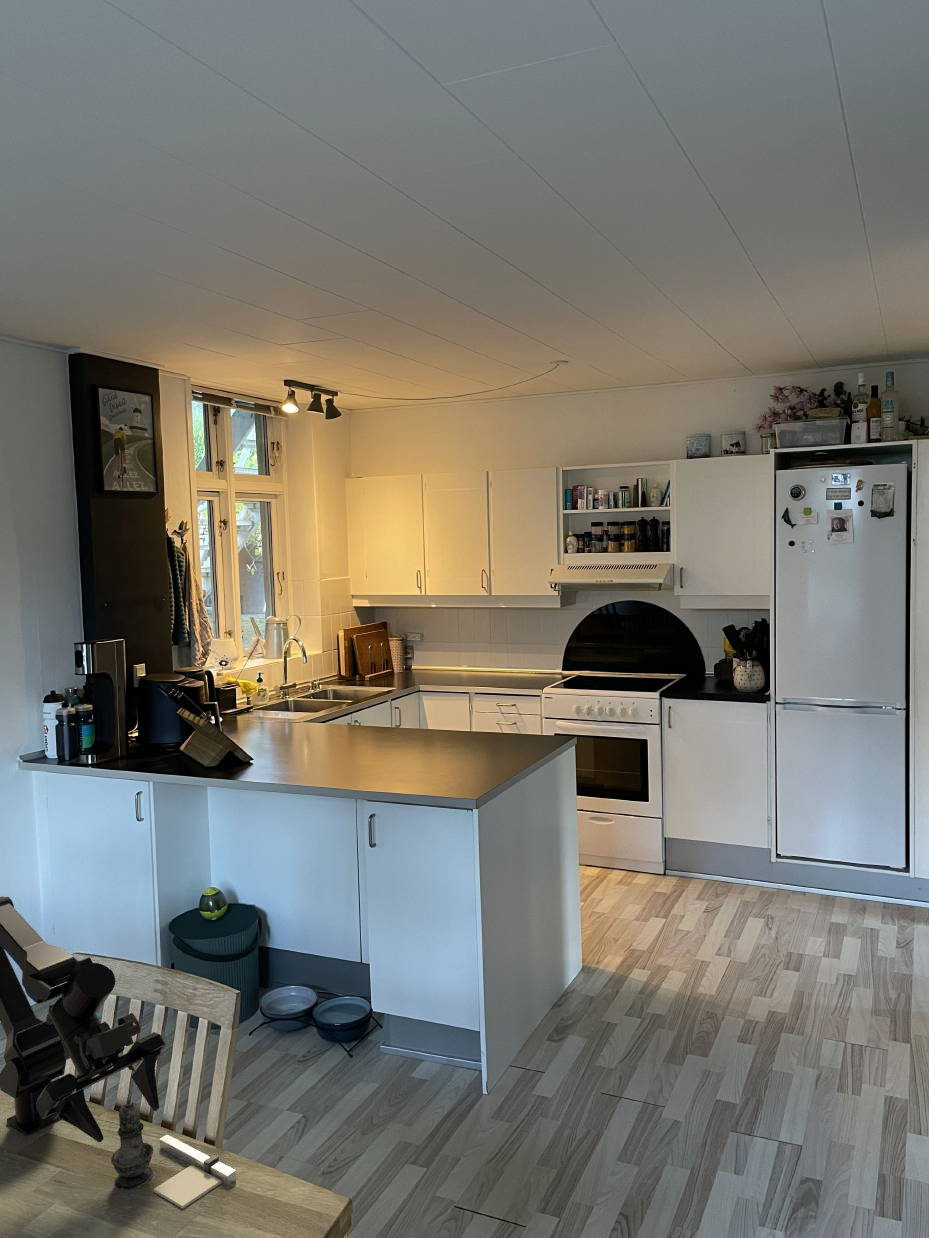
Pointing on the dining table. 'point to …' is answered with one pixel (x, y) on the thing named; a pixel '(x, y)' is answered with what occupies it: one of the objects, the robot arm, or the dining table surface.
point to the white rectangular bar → (198, 1159)
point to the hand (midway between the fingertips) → (130, 1124)
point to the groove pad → (187, 1186)
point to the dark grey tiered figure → (131, 1150)
